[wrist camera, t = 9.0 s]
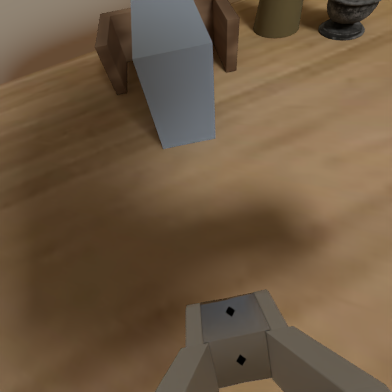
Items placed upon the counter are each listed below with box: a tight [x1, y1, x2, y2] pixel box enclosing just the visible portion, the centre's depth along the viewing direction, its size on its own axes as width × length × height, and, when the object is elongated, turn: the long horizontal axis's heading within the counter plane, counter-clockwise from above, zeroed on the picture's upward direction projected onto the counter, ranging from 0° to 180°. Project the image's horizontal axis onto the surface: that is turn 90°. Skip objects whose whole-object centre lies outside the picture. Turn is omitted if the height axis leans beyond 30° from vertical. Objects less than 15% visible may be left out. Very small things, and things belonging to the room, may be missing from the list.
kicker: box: [131, 0, 215, 149], centre depth 19 cm, size 5×10×8 cm, turn 10°
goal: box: [95, 0, 240, 95], centre depth 24 cm, size 14×8×5 cm, turn 100°
